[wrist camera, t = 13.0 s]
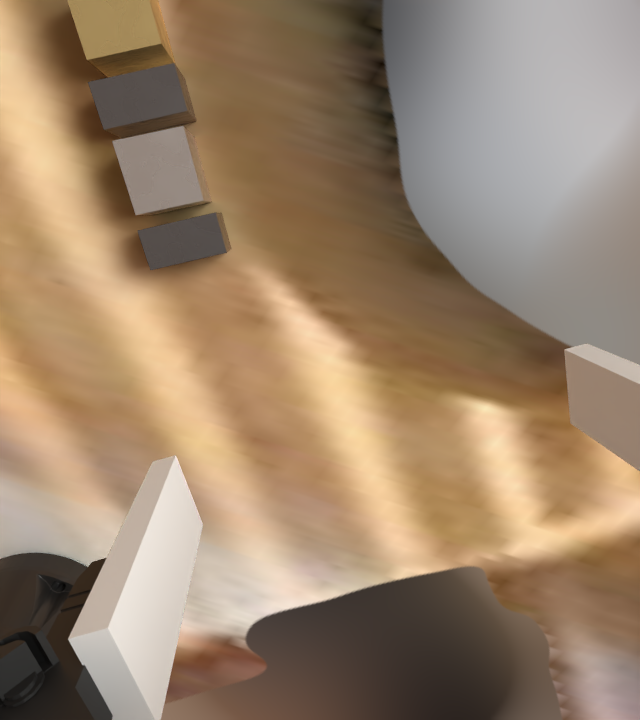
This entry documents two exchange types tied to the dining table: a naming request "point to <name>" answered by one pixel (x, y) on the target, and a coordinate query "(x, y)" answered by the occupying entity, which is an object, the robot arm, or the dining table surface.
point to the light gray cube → (162, 171)
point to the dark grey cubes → (150, 113)
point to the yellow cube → (122, 34)
